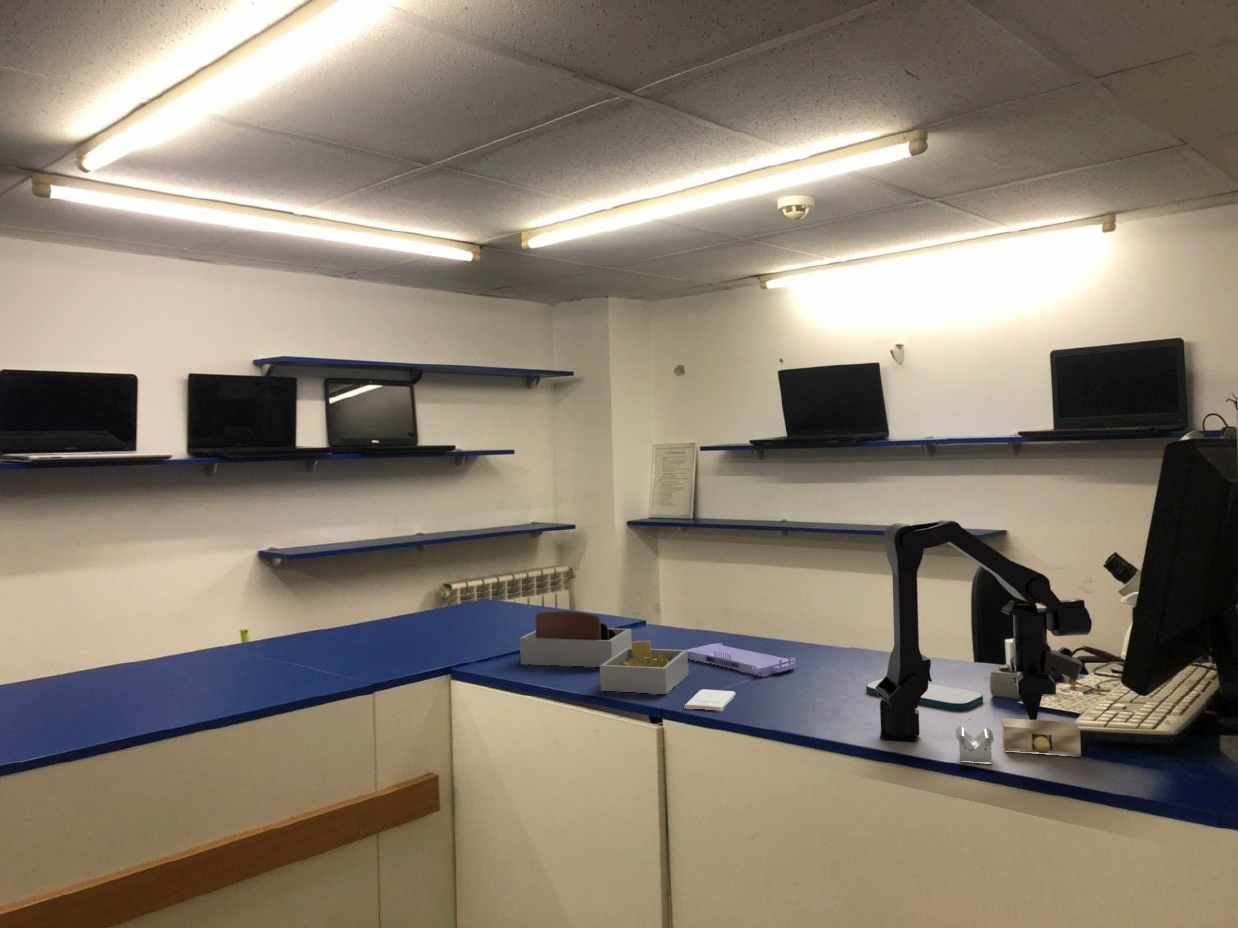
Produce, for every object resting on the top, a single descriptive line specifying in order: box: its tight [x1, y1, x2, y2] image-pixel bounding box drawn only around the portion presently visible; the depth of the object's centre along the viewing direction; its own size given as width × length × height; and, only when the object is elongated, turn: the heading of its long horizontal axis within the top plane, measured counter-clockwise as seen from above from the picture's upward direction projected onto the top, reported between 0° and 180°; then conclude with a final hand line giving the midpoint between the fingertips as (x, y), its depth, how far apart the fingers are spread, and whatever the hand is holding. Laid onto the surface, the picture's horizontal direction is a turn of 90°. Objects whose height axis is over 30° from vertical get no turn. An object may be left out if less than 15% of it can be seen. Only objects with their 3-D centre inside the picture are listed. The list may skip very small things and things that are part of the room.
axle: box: [1032, 718, 1050, 753], centre depth 159 cm, size 2×12×2 cm, turn 160°
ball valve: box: [619, 640, 669, 667], centre depth 215 cm, size 13×10×10 cm
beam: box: [1001, 717, 1082, 757], centre depth 157 cm, size 12×5×5 cm, turn 70°
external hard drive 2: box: [865, 677, 984, 712], centre depth 193 cm, size 24×12×2 cm, turn 43°
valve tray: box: [599, 648, 689, 695], centre depth 214 cm, size 16×19×6 cm
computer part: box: [686, 642, 797, 678], centre depth 229 cm, size 30×4×15 cm
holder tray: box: [519, 627, 633, 668], centre depth 242 cm, size 26×16×7 cm, turn 70°
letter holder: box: [535, 610, 616, 640], centre depth 241 cm, size 10×20×14 cm, turn 64°
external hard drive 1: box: [684, 689, 737, 712], centre depth 195 cm, size 2×8×12 cm
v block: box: [955, 725, 995, 763], centre depth 154 cm, size 5×6×5 cm
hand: (1033, 719), depth 168 cm, fingers closed
